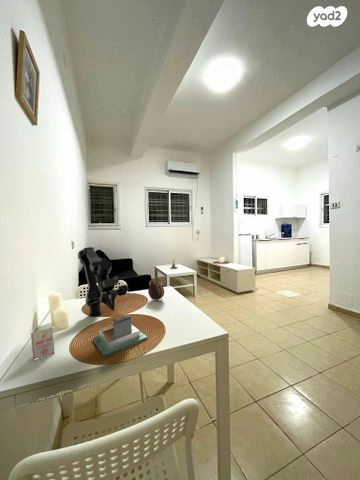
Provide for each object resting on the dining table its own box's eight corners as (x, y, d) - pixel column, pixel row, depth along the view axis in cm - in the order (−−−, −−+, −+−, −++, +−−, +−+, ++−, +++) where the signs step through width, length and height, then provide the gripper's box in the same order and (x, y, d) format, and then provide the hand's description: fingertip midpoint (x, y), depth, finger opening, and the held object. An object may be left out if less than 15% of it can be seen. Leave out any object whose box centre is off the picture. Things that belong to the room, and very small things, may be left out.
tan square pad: (101, 328, 86) (107, 326, 79) (125, 319, 93) (132, 317, 86) (102, 330, 86) (107, 329, 79) (126, 322, 92) (133, 319, 86)
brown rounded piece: (165, 300, 129) (164, 277, 128) (160, 302, 125) (159, 279, 124) (152, 297, 135) (151, 276, 134) (147, 300, 131) (146, 278, 130)
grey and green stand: (92, 340, 86) (90, 316, 85) (131, 325, 97) (129, 304, 96) (104, 358, 73) (102, 329, 73) (147, 339, 84) (145, 314, 84)
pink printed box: (33, 356, 77) (31, 331, 76) (54, 349, 81) (51, 325, 80) (33, 360, 74) (30, 335, 73) (54, 353, 78) (52, 328, 77)
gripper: (85, 275, 86) (94, 307, 78) (125, 268, 98) (137, 295, 90) (82, 289, 93) (90, 320, 85) (120, 281, 104) (130, 307, 96)
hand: (113, 310), depth 89 cm, fingers closed
